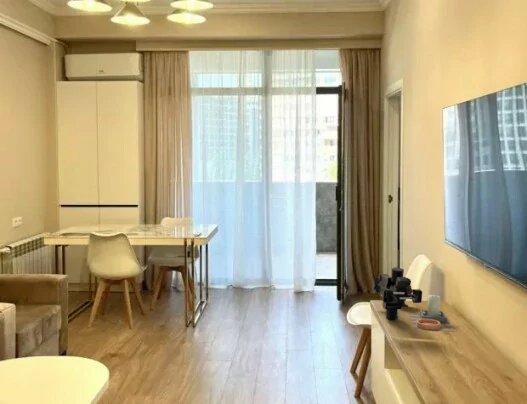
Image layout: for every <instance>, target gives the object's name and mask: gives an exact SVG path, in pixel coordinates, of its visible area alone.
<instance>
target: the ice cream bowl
mask: <svg viewBox="0 0 527 404" xmlns="http://www.w3.org/2000/svg"><path fill="white" fill-rule="evenodd" d="M407 288H408V291H407V294H412V292H413V288H412V285H410V286H407ZM408 298H409V297H408ZM402 307H403V308H406V307H407V308H408V307H409V305H408V304H406V301H403V303H402Z"/></svg>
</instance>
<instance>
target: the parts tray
mask: <svg viewBox="0 0 527 404" xmlns="http://www.w3.org/2000/svg"><path fill="white" fill-rule="evenodd" d="M419 313H420V317H421V319H433V320H436V321H439V322H442V323H447V319H448V317H447V315H446V313H445V312H444V310H439V317H434V316H427V309H419Z"/></svg>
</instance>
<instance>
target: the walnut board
mask: <svg viewBox="0 0 527 404" xmlns="http://www.w3.org/2000/svg"><path fill="white" fill-rule="evenodd" d="M408 315H409V319H410V322H411V325H412V327H413V330H418V331H420V330H421V331H434V332H435V331H436V332H451V333H455V332H456V331H455V329H454V328H453V326H452V324H451V322H450V321H449V319H448V318H447V323H442V322H440V324H441V327H440V328H439V329H435V330H432V329H423V328H420V327H417V325H416V320H418V319H421V317H420V312H408Z"/></svg>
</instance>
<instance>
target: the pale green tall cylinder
mask: <svg viewBox="0 0 527 404" xmlns="http://www.w3.org/2000/svg"><path fill="white" fill-rule="evenodd" d="M440 306H441V296H440V295H436V294H429V295H427V308H426V310H427V316H434V317H439V311H441V310H440V308H441V307H440Z"/></svg>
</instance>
